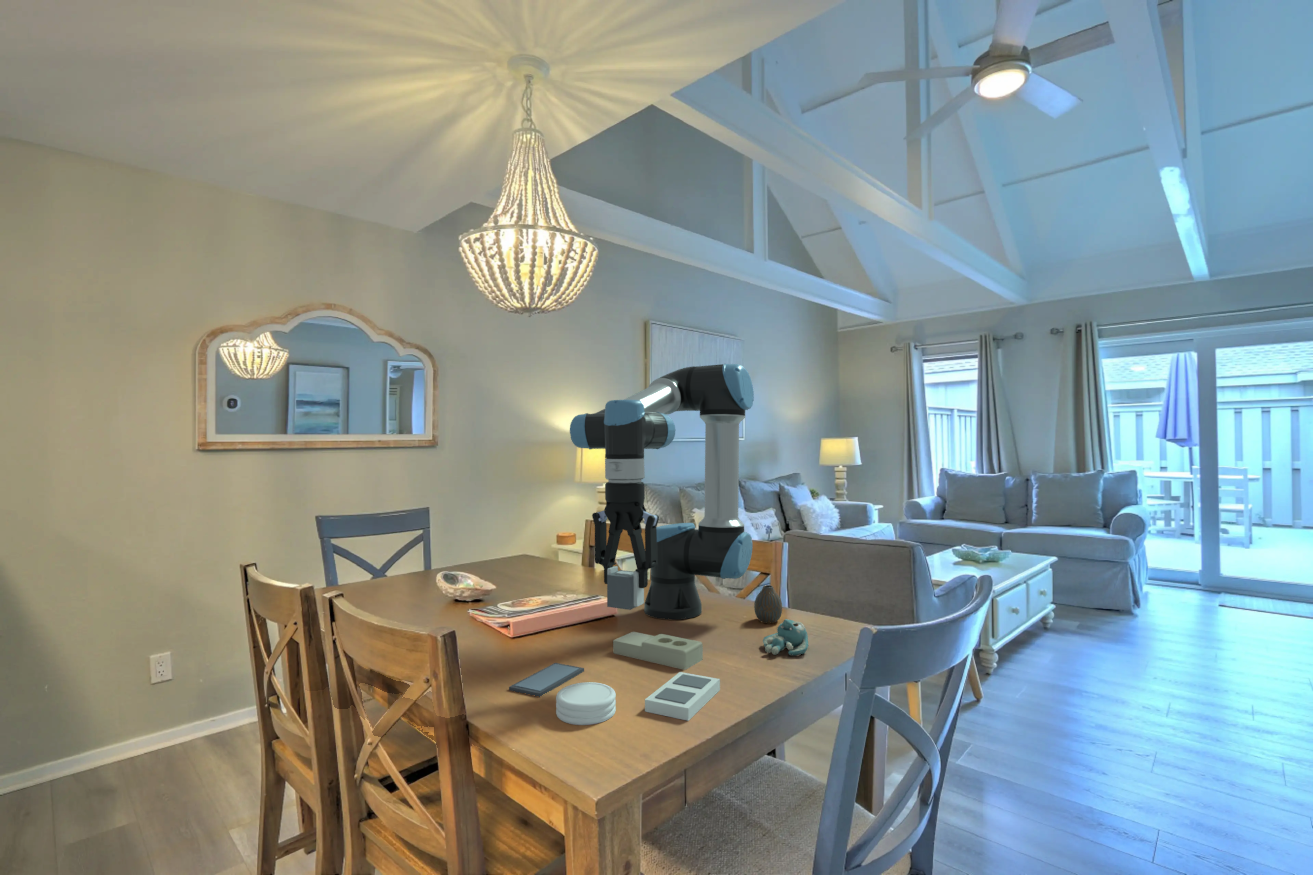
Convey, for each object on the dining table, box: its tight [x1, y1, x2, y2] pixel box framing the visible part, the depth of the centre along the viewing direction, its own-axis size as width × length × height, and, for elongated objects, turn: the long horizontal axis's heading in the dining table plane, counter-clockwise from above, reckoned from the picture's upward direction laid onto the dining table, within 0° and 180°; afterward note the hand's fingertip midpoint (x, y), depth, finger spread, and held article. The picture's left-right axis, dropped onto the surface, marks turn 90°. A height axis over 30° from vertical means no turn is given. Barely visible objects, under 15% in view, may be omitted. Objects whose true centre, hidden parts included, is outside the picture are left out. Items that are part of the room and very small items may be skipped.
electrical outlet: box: [612, 631, 704, 671], centre depth 133 cm, size 7×4×18 cm
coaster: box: [555, 681, 617, 726], centre depth 106 cm, size 10×10×4 cm
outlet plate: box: [644, 671, 721, 722], centre depth 110 cm, size 14×8×2 cm, turn 153°
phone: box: [508, 662, 585, 698], centre depth 120 cm, size 14×7×1 cm, turn 152°
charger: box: [606, 569, 637, 611], centre depth 120 cm, size 5×5×6 cm
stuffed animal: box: [762, 618, 809, 657], centre depth 136 cm, size 11×7×12 cm
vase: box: [753, 584, 783, 624], centre depth 158 cm, size 7×7×9 cm
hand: (625, 602), depth 120 cm, fingers closed on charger, 5 cm apart
